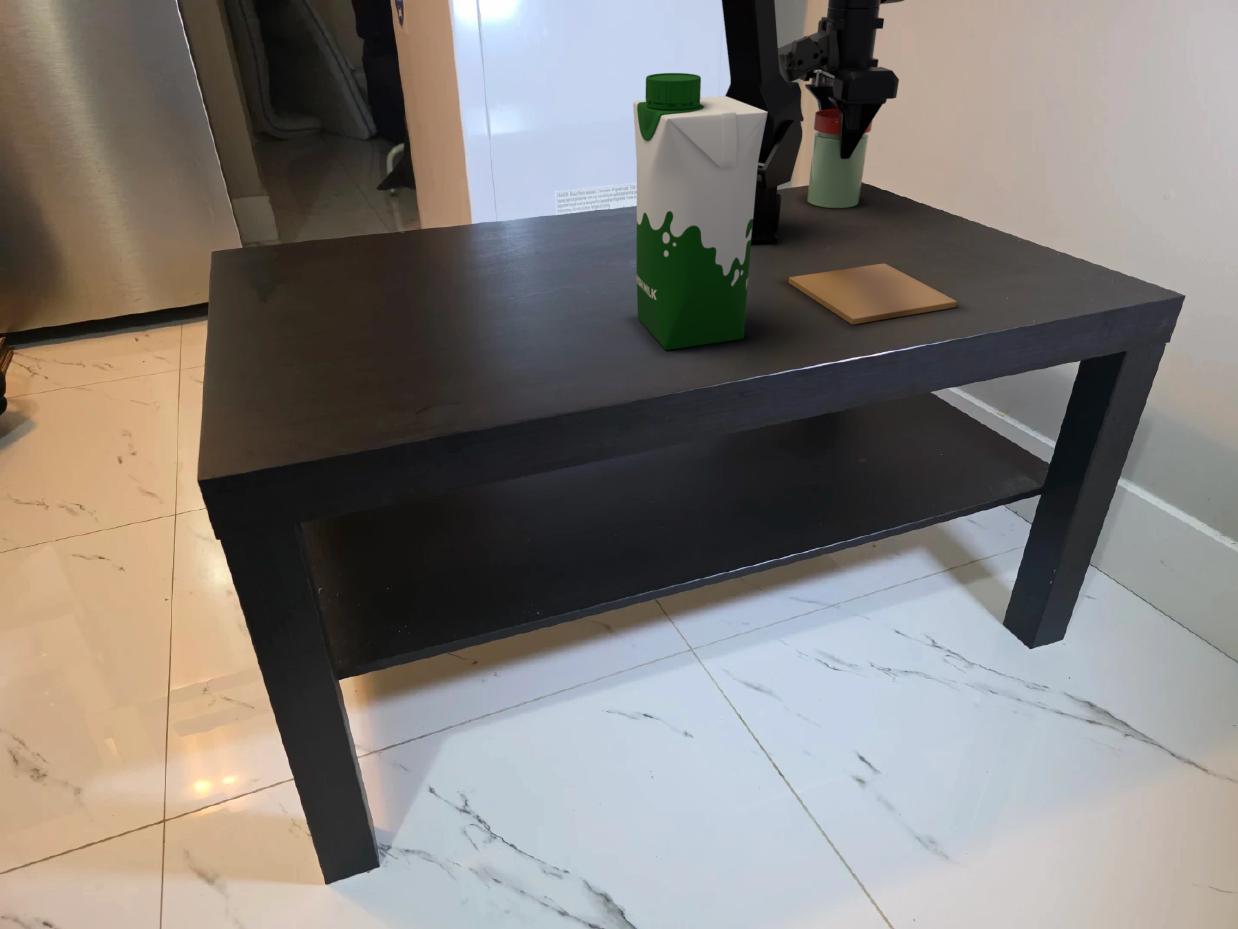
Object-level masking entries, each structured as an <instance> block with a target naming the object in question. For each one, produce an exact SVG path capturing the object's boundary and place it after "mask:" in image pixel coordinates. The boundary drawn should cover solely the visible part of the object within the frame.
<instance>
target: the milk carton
mask: <svg viewBox="0 0 1238 929" xmlns="http://www.w3.org/2000/svg"><path fill="white" fill-rule="evenodd" d="M701 87H702V78H701V76H700V75H698V74H695V73H687V72H686V73H684V72H663V73H653V74H649V75H646V77H645V97H644V98H645V99H644V100H642V99H641V100H635V101H633V103H632V107H633V122H634V123H633V124H634V139H635V141H634V142H635V155H636V156H635V158H636V159H635V160H636V297H637V300H636V301H637V302H636V303H637V319H638V321H640V323H641V324H642V325H643V326H644V328H645V329H646V330H647V331H648V332H649V333H650V334H651V336H652V337H653V338H654V339H655V340H656V341H657V342H658V344H659V345H660V346H661V347H662V348H663V349H664V350H665V351H669V350H676V349H677V350H678V349H683V348H689V347H696V346H697V347H698V346H704V345H709V344H715V343H716V344H717V343H724V342H731V341H736V340H742V339H744V338H745V326H746V312H747V298H748V287H749V275H750V273H749V272H750V263H751V262H750V260H751V248H752V243H751V238H752V226H753V214H754V202H755V190H756V178H757V167H758V165H759V163H758V160H759V154H760V148H761V143H762V138H763V133H764V128H765V123H766V118H767V113H768V112H766V111H764V110H761V109H758V108H756V107H753V106H750V105H748V104H745V103H742V102H740V101H737V100H734V99H732V98H729V97H726V96H725V95H722V96H719V95H718V96H707V97H705V96H703V97H701V90H702V89H701Z"/></svg>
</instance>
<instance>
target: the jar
mask: <svg viewBox="0 0 1238 929" xmlns="http://www.w3.org/2000/svg"><path fill="white" fill-rule="evenodd" d="M868 142H869V135H868V133H864V135H863V136H862V138H861V140H860V141H859V143H858V145H857V147H856V148H855V150H854V152H853V153H852V155H851V157H850V158H849V159H841V158H840V147H839V135H836V134H827V133H822V132H818V131H815V133H814V135H813V144H812V153H811V163H810V170H809V180H808V189H807V197H806V201H807V202H808V203H809V204H810V205H813V206H816V207H821V208H826V209H827V208H828V209H847V208H852V207H855V206H858V205H859V202H860V198H861V197H860V196H861V188H862V183H863V175H864V170H865V163H866V156H867V150H868Z"/></svg>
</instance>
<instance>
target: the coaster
mask: <svg viewBox="0 0 1238 929" xmlns="http://www.w3.org/2000/svg"><path fill="white" fill-rule="evenodd" d="M788 284H789V285H790V286H793V287H794V288H795V289H797V290H798V291H800V292H802V293H803V294H805V295H806V296H808V297H809V298H810V299H812V300H814V301H815V302H817V303H818V304H820V305H821V306H823V307H825V308H826V309H827V310H829V311H830V312H832V313H834V314H835V315H836V316H838V317H839V318H841V319H842V320H844V321H845V322H847V323H849V324H850V325H852V326H854V325H859V324H865V323H870V322H878V321H884V320H888V319H894V318H900V317H901V318H902V317H907V316H912V315H918V314H924V313H930V312H936V311H942V310H948V309H953V308H956V307H957V304H958V301H957V300H955V299H953V298H951V297H949V295H948V296H947V295H946V294H944V293H942V292H940V291H938V290H936V289H935V288H933V287H931V286H929V285H927V284H925V283H923V282H921V281H920V280H917V279H915V278H914V277H912V276H909V275H907V274H906V273H904V272H902V271H901V270H898V269H897V268H894V267H893V266H891V265H889V264H887V263H885V262H884V263H883V262H882V263H878V264H870V265H864V266H856V267H851V268H844V269H836V270H829V271H822V272H817V273H810V274H809V273H808V274H802V275H795V276H789V277H788Z"/></svg>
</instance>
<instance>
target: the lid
mask: <svg viewBox="0 0 1238 929" xmlns="http://www.w3.org/2000/svg"><path fill="white" fill-rule="evenodd" d="M873 120H874V119H873ZM873 120H872V121H871V123H870V125H869V126H868V128H867V130H866V131H865V134H868V133H870V132H871V131H872V127H873ZM813 130H814V131H815V132H822V133H827V134H836V135H839V112H838V110H837V109H827V110H820V111H819V110H817V111H816V112H814V120H813Z"/></svg>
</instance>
